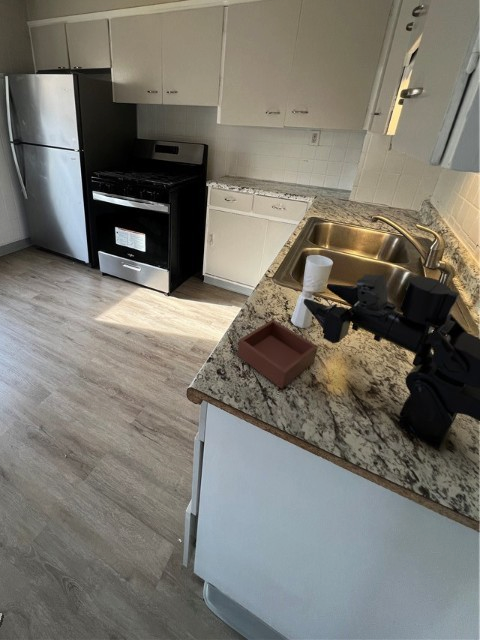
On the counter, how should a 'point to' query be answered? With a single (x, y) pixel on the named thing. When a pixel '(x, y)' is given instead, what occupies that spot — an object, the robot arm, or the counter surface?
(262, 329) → the bin
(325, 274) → the white cup
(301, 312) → the salt shaker
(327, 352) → the counter surface
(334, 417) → the counter surface
